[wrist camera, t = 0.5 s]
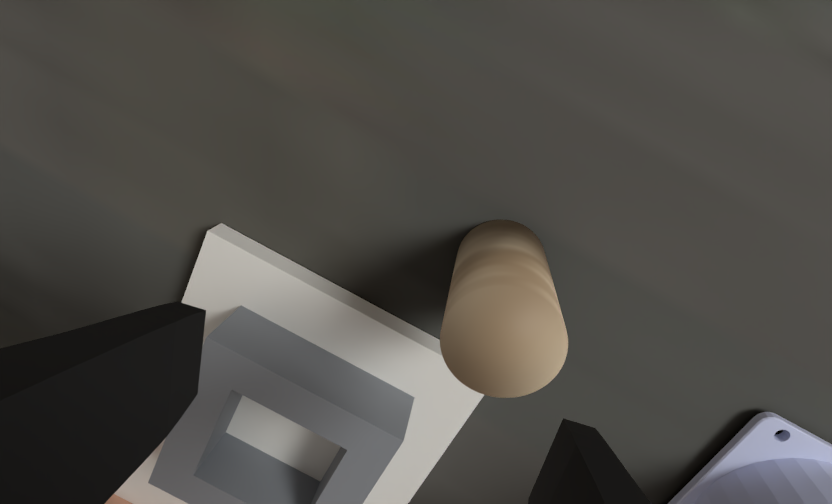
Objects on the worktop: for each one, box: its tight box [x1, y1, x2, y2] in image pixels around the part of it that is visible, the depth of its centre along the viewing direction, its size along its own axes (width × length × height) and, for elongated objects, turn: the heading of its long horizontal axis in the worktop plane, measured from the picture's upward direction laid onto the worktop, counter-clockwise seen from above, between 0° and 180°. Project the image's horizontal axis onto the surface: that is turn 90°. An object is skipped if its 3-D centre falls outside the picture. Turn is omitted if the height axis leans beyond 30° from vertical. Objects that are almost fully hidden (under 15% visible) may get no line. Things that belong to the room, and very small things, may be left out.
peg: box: [440, 220, 568, 398], centre depth 16 cm, size 3×3×6 cm
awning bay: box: [105, 223, 484, 504], centre depth 19 cm, size 12×16×7 cm
